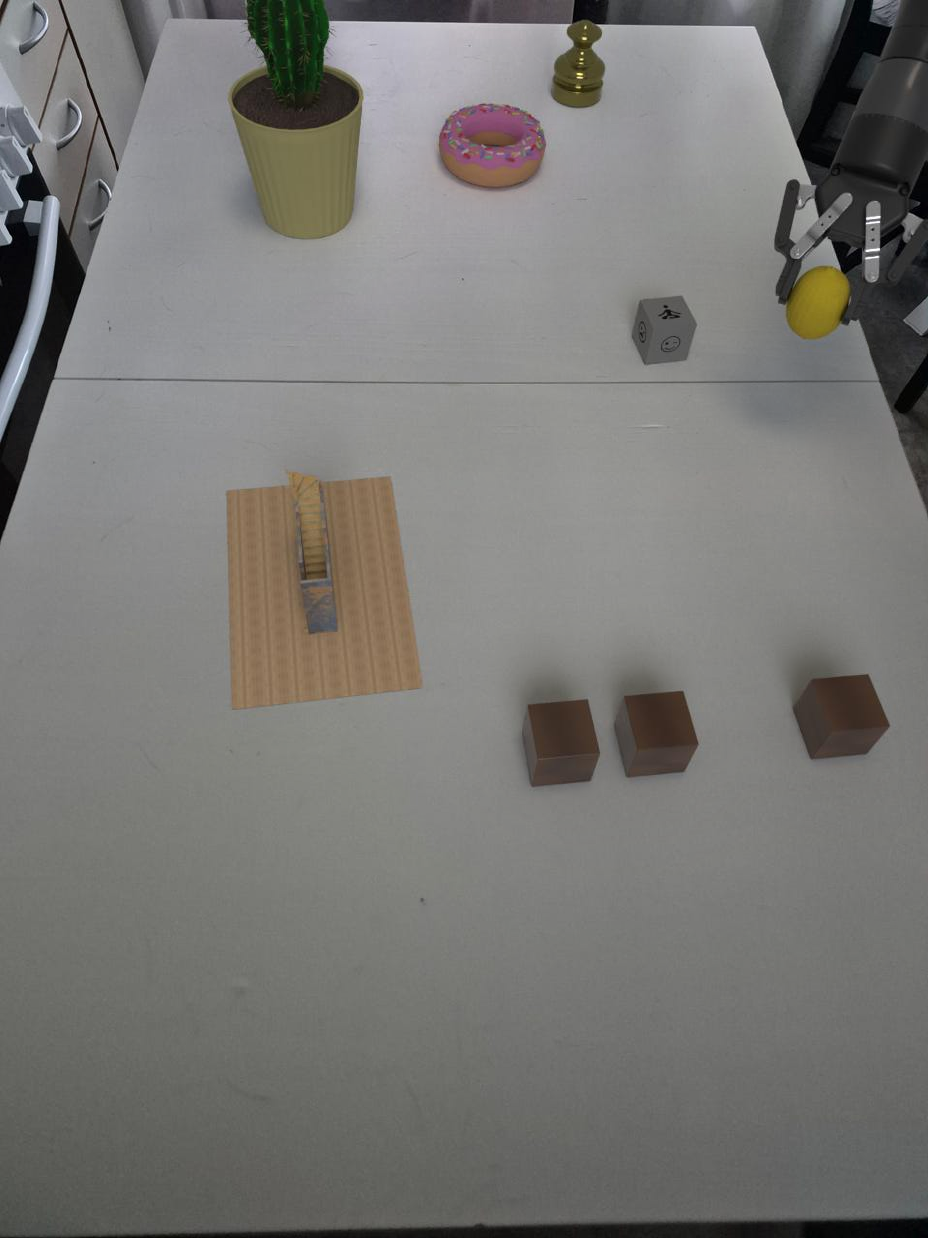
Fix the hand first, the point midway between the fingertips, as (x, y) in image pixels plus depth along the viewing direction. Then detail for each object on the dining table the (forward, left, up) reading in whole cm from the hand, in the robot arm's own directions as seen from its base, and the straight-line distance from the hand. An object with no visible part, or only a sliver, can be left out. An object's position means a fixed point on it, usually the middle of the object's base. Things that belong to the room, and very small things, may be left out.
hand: (813, 312), depth 91 cm
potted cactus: (+47, -43, -16) cm, 66 cm away
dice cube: (+8, -14, -16) cm, 23 cm away
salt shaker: (+7, -70, -16) cm, 72 cm away
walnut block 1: (+29, +36, -16) cm, 49 cm away
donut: (+22, -53, -16) cm, 60 cm away
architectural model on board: (+48, +16, -16) cm, 53 cm away
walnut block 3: (+5, +36, -16) cm, 39 cm away
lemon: (-1, -1, -4) cm, 5 cm away
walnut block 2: (+21, +36, -16) cm, 44 cm away
